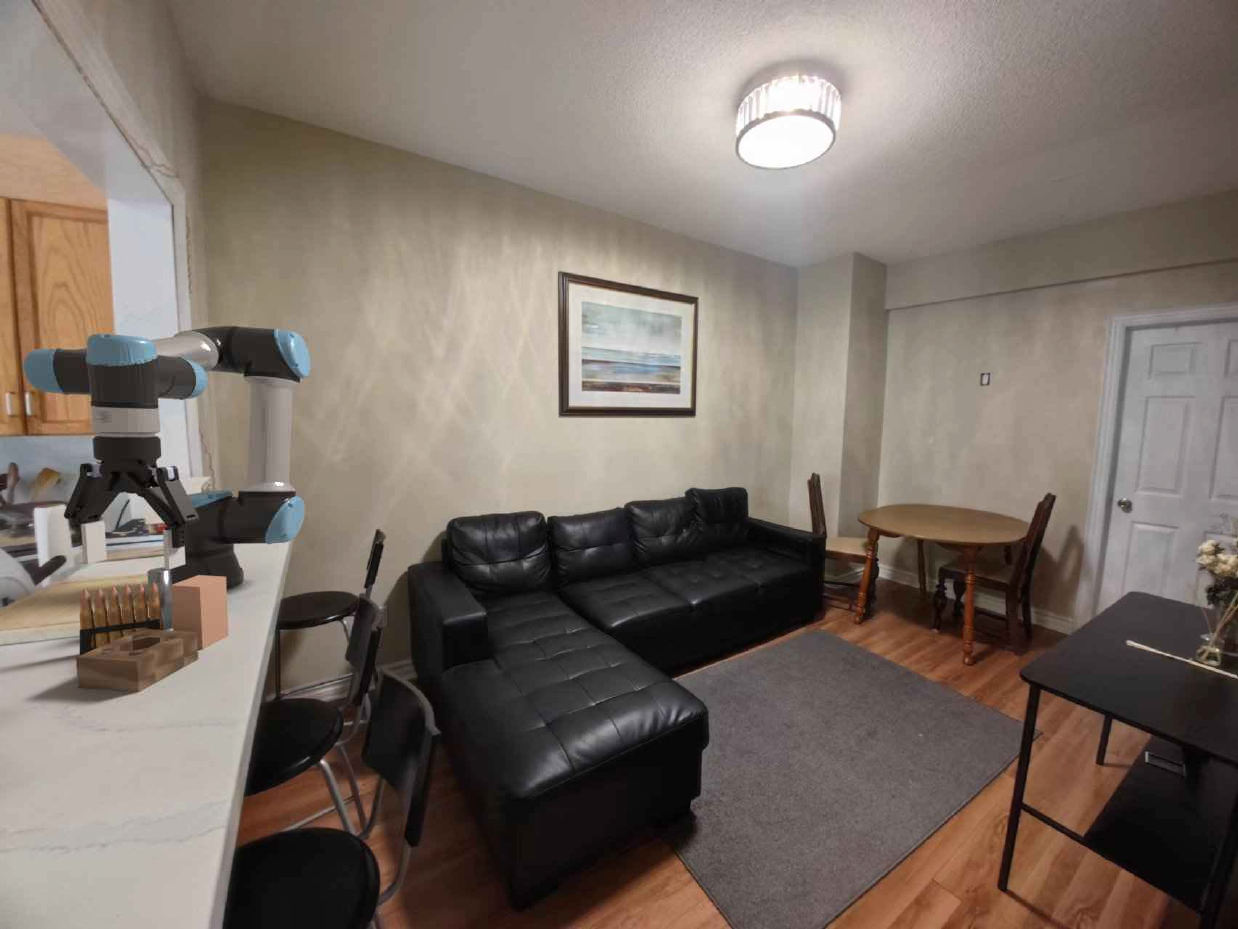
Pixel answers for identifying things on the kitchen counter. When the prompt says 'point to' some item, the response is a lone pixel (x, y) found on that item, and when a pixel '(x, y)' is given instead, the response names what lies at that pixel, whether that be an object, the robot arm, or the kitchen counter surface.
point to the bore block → (136, 660)
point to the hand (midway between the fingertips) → (135, 564)
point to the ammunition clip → (117, 616)
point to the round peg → (163, 593)
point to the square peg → (201, 608)
